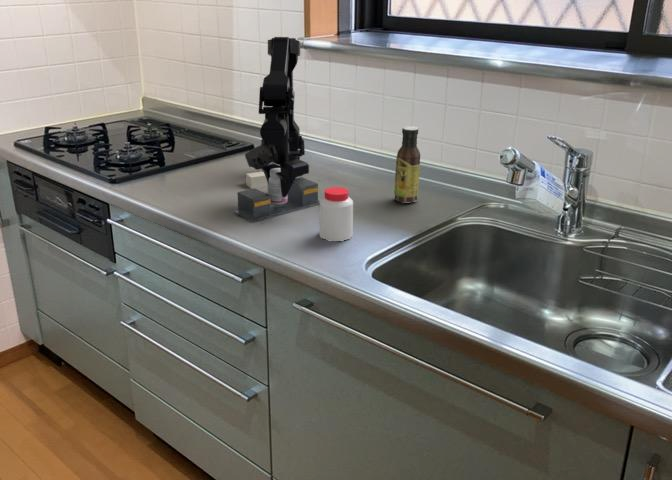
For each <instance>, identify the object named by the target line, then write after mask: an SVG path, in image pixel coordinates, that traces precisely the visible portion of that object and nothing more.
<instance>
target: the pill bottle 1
mask: <svg viewBox="0 0 672 480" xmlns="http://www.w3.org/2000/svg"><path fill="white" fill-rule="evenodd" d="M278 172H281V171H280V168H273V169H271V170H270V176H271V177H269V195H270V203H272V204H284V203H286V202H287V201H288V194H287V196H286V197H283V196H282V192H281V183H280V178H279V177H278V176H277V175H276V173H278Z"/></svg>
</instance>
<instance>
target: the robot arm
mask: <svg viewBox="0 0 672 480" xmlns="http://www.w3.org/2000/svg"><path fill="white" fill-rule="evenodd" d="M267 55H268V56H269V57H270V66H269V67H270V68H269V74H267V75H266V76H265V77H263V82H262V85H261V86H260V87H259V94H258V95H259V99H258V115H264V121H263V122H262V125H261V127H260V131H259V132H260V134H259V135H260V137H261V140H260V142H261V144H260V145H258V146H256V147H254V148H252V149H250V150H249V151H248V152H246V153H245V154H244V158H245V160H246V162H247V165H248V167H250V168H254V170H257V171H258V170H262V171H263V172H264V174H265V176H266V179H267V182H268V185H269V177H271V176H270V170H271V169H273V168H280V171H281V172H278V173H276V175H277V176H278V177H279V178H280V183H281V192H282V196H283V197H286V196H287V194H288V192H289V190H290V188H291V186H292V184H293V182H294V180H295V179H296V178H298V177H300V176H303V175H306V174H309V173H310V165H309V164H308V162H307V161H304V160H301V159H300V158H301V157H303V156H305V154H306V153H305V151H306V150H305V149H306V148H305V147H306V146H305V140H304V139H303V135H300V133H301V132H300V127H299V125H298V124H297V123H296V121H295V114H294V113H295V112H294V111H295V91H294V69H296V66H297V65H298V60H299V57H300V56H301V42H300V40H299V39H296V37H289V36H273V37H272V38H270V39H267Z"/></svg>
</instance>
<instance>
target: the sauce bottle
mask: <svg viewBox="0 0 672 480" xmlns="http://www.w3.org/2000/svg"><path fill="white" fill-rule="evenodd" d="M401 132H402V133H401V134H402V141H401V147H400V148H398V150H397V153H396V160H395V161H396V162H395V174H394V175H395V176H394V190H393V191H394V200H395V201H396V200H397V201H396V202H398V201H400V202H413V201H415V200H418V195H419V185H420V184H419V182H420V170H421V152H420V150H419V148H418V146H417V145H418V134H419V127H417V126H412V125H411V126H410V125H407V126H406V125H405V126H403V127H402V129H401ZM400 202H399V203H400Z"/></svg>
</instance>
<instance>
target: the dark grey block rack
mask: <svg viewBox="0 0 672 480" xmlns="http://www.w3.org/2000/svg"><path fill="white" fill-rule="evenodd" d="M320 200H321V199H319V184H318V182H315V181H313V180H310V179H308V178H305V177H303V176H302V177H300V176H299V177H296V178H295V180H294V182H293V184H292V186H291V188H290V190H289V192H288V201H287V202H286V203H284V204H272V203H270V195H268V193H266V192H263V191H261V190H260V189H258V188H253V189H251V188H249V189H245V190H241V191H237V210H234V211H233V214H234V215H236V216H238V217H240V218H241V219H244V220H246V221H248V222H249V223H251V224H252V223H255V222H258V221H259V222H260V221H262V220H267V219H270V218H271V219H272V218H273V217H278V216H281V214H282V215H284V214H285V213H286V214H289V213H292V212H295V211H296V210H297V211H301V210H304V209H308V208H311V206H312V207H315V206H320Z"/></svg>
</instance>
